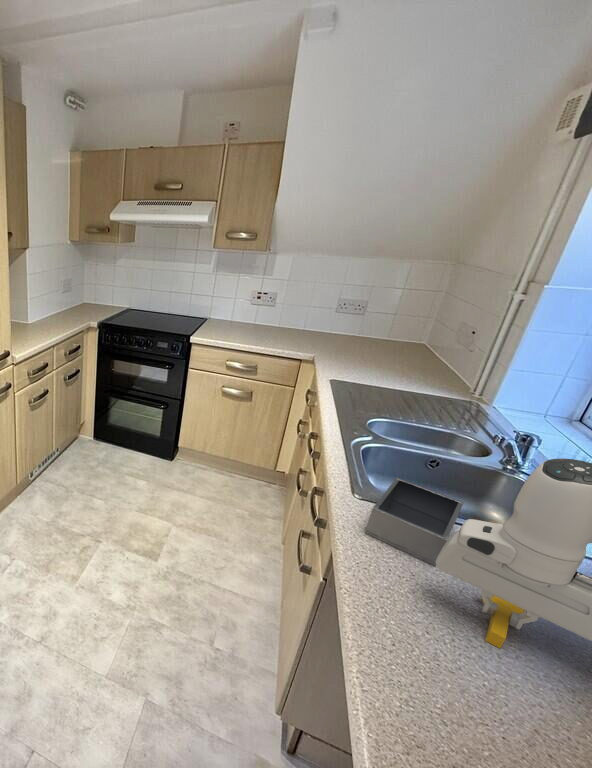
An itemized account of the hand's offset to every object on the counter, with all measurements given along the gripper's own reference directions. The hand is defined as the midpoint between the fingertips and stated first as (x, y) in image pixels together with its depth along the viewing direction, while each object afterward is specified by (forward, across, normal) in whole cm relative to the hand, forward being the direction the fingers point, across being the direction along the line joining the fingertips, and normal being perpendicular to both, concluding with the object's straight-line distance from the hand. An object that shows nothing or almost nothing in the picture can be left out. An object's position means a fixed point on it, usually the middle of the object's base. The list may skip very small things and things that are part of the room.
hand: (500, 618), depth 70 cm
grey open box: (+2, +16, -18) cm, 24 cm away
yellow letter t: (+2, 0, -1) cm, 2 cm away
